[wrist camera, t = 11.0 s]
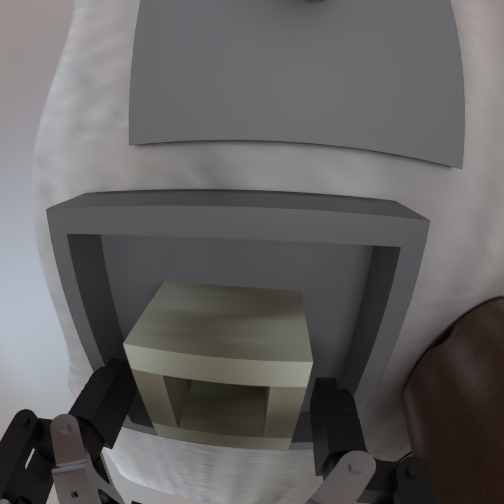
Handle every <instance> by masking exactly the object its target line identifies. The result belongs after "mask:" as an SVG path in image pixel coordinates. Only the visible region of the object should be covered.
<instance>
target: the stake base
mask: <svg viewBox="0 0 504 504" xmlns="http://www.w3.org/2000/svg"><path fill="white" fill-rule="evenodd" d="M464 135H465V99H464V81H463V69H462V60H461V52H460V45H459V39H458V33H457V28H456V23H455V18H454V14H453V10H452V6H451V2H450V0H141V1H140V6H139V12H138V18H137V24H136V31H135V39H134V48H133V57H132V68H131V82H130V103H129V145H139V144H150V143H163V142H179V141H202V140H258V141H283V142H299V143H311V144H322V145H332V146H341V147H349V148H357V149H364V150H371V151H378V152H384V153H390V154H395V155H401V156H406V157H411V158H416V159H421V160H425V161H430V162H434V163H439V164H443V165H447V166H451V167H455V168H459V169H462V166H463V154H464Z"/></svg>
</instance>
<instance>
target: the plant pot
mask: <svg viewBox="0 0 504 504" xmlns="http://www.w3.org/2000/svg"><path fill="white" fill-rule="evenodd" d="M402 409H403V413H404V416H405V421H406V425H407V430H408V435H409V440H410V445H411V451H412V456H417V457H420V458H422V459H424V460H425V461H426V462H427V463H428V465H429V469H430V473H431V477H432V482H433V486H434V491H435V496H436V501H437V504H504V298H500V299H496V300H493V301H490V302H488V303H486V304H484V305H482V306H480V307H478V308H477V309H475V310H473V311H472V312H470V313H469V314H467V315H466V316H464V317H463V318H462V319H461V320H459V321H458V322H457V323H456V324H455V325H454V326H453V329H452V331H451V334H450V335H449V337H448V338H447V339H446V340H445V341H444V342H442V343H441V344H439V345H437V346H434V347H431V348H430V349H429V350H428V351H427V352H426V353H425V355H424V356H423V357H422V358H421V360H420V361H419V362H418V364H417V365H416V367H415V368H414V370H413V371H412V373H411V375H410V377H409V379H408V381H407V383H406V385H405V388H404V390H403V394H402Z"/></svg>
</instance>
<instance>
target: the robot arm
mask: <svg viewBox="0 0 504 504" xmlns="http://www.w3.org/2000/svg"><path fill="white" fill-rule="evenodd" d="M136 394H137V384H136V381H135V378H134V376H133V373H132V370H131V367H130V364H129V361H127V360H123V359H118V358H111V359H110V360H109V362H108V363H107V365H106V366H105V367H103V366H101V367H100V368H99V369H97V370H96V371H95V372H93V374H92V375H91V377H90V379H89V380H88V382H87V383H86V385H85V387H84V389H83V390H82V391H81V393H80V395H79V396H78V398H77V400H76V401H75V403H74V405H73V406H72V408H71V410H70V411H69V413H68V414H61V415H59V416H57V417H55V418H54V419H53V420H51V419H42V418H37V416H36V415H35V414H34V412H33V411H31V410H28V409H24V410H21V411H19V412H18V413H17V414H16V415H15V416H14V418H13V420H12V421H11V423H10V425H9V427H8V429H7V430H6V432H5V434H4V436H3V437H2V440H1V441H0V504H46V502H47V499H48V496H49V493H50V491H51V488H52V485H53V483H54V485H55V489H56V493H57V496H58V500H59V503H60V504H125V503H124V501H123V499H122V498H121V496H120V494H119V493H118V491H117V490H116V488H115V486H114V484H113V482H112V479H111V476H110V474H109V471H108V469H107V466H106V463H105V460H104V457H103V454H102V452H101V451H102V449H103V446H104V447H106V448H109V449H112V448H113V446H114V444H115V441H116V439H117V437H118V434H119V432H120V430H121V427H122V425H123V423H124V421H125V418H126V416H127V414H128V412H129V409H130V407H131V405H132V403H133V401H134V398H135V396H136ZM310 417H311V427H312V438H313V449H314V461H315V473H316V476H321V475H323V480H324V482H323V483H322V485H321V486H320V487H319V488H318V490H317V491H316V492H315V493H314V494H313V496H312V497H311V498H310V499H309V500H308V501H307V502H306V503H305V504H355V503H356V502H361V503H370V504H437V501H436V496H435V491H434V486H433V482H432V477H431V473H430V469H429V465H428V463H427V462H426V461H425V460H424V459H422V458H420V457H417V456H412V453H411V454H409V455H408V456H406V457H405V458H403V459H402V460H401V461H400V462H390V461H382V460H378V459H376V458H374V457H372V456H371V455H370V454H369V453H368V451H367V449H366V446H365V442H364V437H363V433H362V429H361V425H360V420H359V418H358V412H357V410H356V404H355V400H354V397H353V396H352V394H351V393H350V392H349V391H348V389H347V388H342V389H338V386H337V382H336V378H335V377H317V378H316V380H315V384H314V388H313V392H312V396H311V400H310ZM33 448H34V449H35V451H34V453H33V455H32V458H31V460H30V462H29V464H28V466H27V468H26V469H25V465H26V462H27V460H28V458H29V456H30V453H31V451H32V449H33ZM131 504H141V503H138V502H134V501H132V503H131Z"/></svg>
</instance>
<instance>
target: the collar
mask: <svg viewBox="0 0 504 504" xmlns="http://www.w3.org/2000/svg"><path fill="white" fill-rule="evenodd" d="M123 345H124V348H125V352H126V355H127V358H128V361H129V364H130V367H131V370H132V373H133V376H134V378H135V381H136V384H137V387H138V389H139V392H140V395H141V397H142V400H143V402H144V405H145V407H146V410H147V412H148V414H149V417H150V419H151V421H152V424H153V426H154V428H155V430H156V432H157V435H158V436H163V437H167V438H172V439H177V440H183V441H189V442H195V443H201V444H208V445H216V446H225V447H235V448H249V449H270V450H288V449H289V446H290V443H291V440H292V437H293V433H294V430H295V427H296V424H297V420H298V417H299V413H300V410H301V407H302V403H303V399H304V396H305V392H306V388H307V384H308V381H309V377H310V373H311V369H312V365H313V358H312V352H311V346H310V340H309V334H308V328H307V322H306V317H305V311H304V306H303V300H302V295H301V290H292V289H271V288H252V287H236V286H220V285H206V284H193V283H180V282H168V281H164V282H163V284H162V285H161V287H160V288H159V290H158V291H157V293H156V294H155V296H154V297H153V298H152V300H151V301H150V303H149V304H148V306H147V307H146V309H145V310H144V312H143V313H142V315H141V316H140V318H139V319H138V321H137V323H136V324H135V326H134V327H133V329H132V330H131V332H130V333H129V335H128V336H127V338H126V340H125V341H124V343H123Z"/></svg>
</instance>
